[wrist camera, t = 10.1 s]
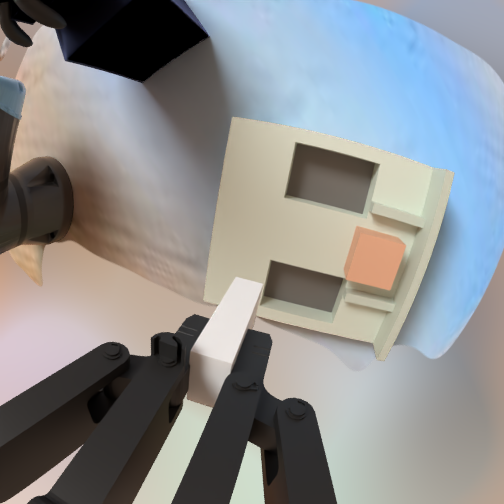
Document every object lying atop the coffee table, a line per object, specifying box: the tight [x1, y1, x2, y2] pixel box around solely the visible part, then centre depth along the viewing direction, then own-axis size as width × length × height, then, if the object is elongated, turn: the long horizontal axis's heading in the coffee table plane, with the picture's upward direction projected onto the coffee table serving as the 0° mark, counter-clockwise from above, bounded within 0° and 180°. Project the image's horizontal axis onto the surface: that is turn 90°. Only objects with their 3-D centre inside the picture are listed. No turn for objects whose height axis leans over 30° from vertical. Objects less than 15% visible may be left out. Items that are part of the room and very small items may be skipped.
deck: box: [203, 117, 454, 361], centre depth 30 cm, size 23×22×6 cm
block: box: [344, 226, 406, 290], centre depth 28 cm, size 5×5×3 cm
